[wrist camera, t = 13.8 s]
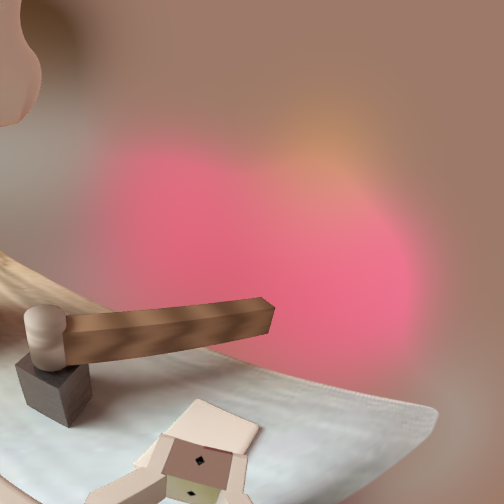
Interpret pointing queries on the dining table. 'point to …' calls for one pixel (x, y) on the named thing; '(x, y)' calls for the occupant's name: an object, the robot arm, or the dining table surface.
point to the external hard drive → (208, 430)
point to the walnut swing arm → (138, 331)
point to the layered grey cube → (55, 389)
